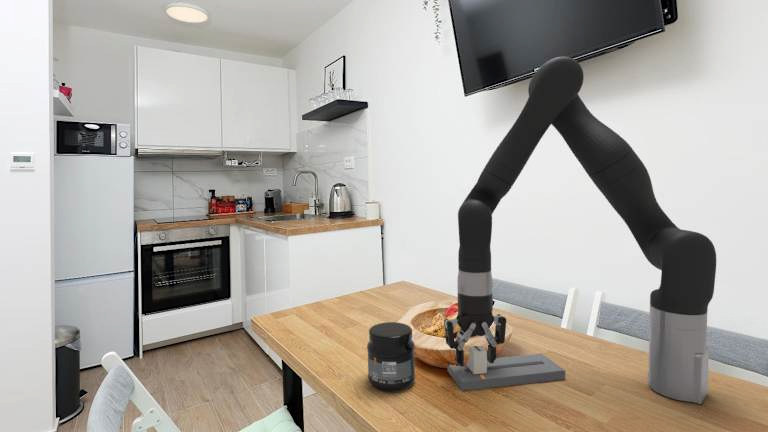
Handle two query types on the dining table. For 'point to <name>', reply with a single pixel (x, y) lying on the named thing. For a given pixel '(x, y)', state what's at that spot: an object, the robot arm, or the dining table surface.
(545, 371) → the slider board
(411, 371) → the supplement container
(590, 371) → the dining table surface
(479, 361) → the block
